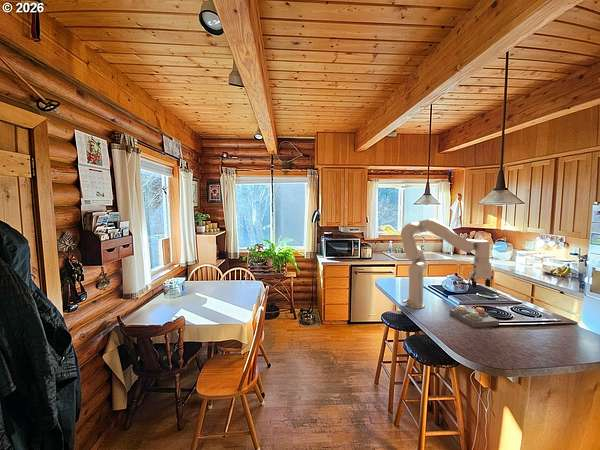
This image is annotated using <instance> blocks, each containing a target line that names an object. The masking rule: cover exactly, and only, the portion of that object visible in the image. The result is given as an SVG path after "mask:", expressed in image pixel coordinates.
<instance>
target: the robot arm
mask: <svg viewBox="0 0 600 450" xmlns="http://www.w3.org/2000/svg"><path fill="white" fill-rule="evenodd" d="M425 232H426V233H427V232H429V233H431V234H433V235H434V236H437V237H438V238H441V239H442V240H443V241H445V242H447V243H448V244H450V245H451V246H453V247H454V248H456V249H458V250H460V251H462V252H465V253H470V252H472V251H474V258H473V261H474V262H473V265H472V271H471V272H469V273H468V278H469V279H470V281H471V287H472V288H473V289H477V280H484V281H485V283H484V285H485V286H484V287H487V288H491V282H492V280H493V278H494V276H495V273H494V272H492V265H491V262H490V253H491V252H490V249H491V247H490V246H491V242H490V241H488V240H485V239H479V240H478V239H472V238H464V237H462V236H461V235H459V234H458V233H456V232H455V231H453V229H452V228H451V227H450V226H446V225H444V224H443V223H440V222H439V221H438V220H437V219H436V218H433V217H432V218H427V219H423V220H419V221H413V222H409V223H407V224H405V225H404V226H403V227H402V229H401V232H400V237H401V242H402V245H403V246H402V247H403V250H404V254H405V256H406V258H407V260H409V261H411V263H410V264H409V266H408V271H407V272H408V298H406V299H402V300H401V302H402V304H406V306H407V307H409V308H412V309H421V310H422V309H425V308H426V304H425V303H424V273H425V272H426V270H427V268H428V265H427V262H426V259H425V255H424V252H423V250H422V248H421V247H420V246H419V245H417V242H416V240H415V237H414V235H417V234H420V233H425Z"/></svg>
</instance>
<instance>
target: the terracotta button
mask: <svg viewBox="0 0 600 450" xmlns="http://www.w3.org/2000/svg"><path fill="white" fill-rule="evenodd" d="M475 309H476V312H478V313H480V314H484V312H485V308H483V307H479V306H478V307H475Z"/></svg>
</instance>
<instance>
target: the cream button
mask: <svg viewBox="0 0 600 450" xmlns="http://www.w3.org/2000/svg"><path fill="white" fill-rule="evenodd" d="M457 308H458V310H459V311H466V309H467V307H466V306H465V305H462V304H460V305H457Z"/></svg>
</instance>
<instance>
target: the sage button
mask: <svg viewBox="0 0 600 450" xmlns="http://www.w3.org/2000/svg"><path fill="white" fill-rule="evenodd" d="M470 316H471V317H474V318H478V312H475V311H470Z"/></svg>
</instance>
